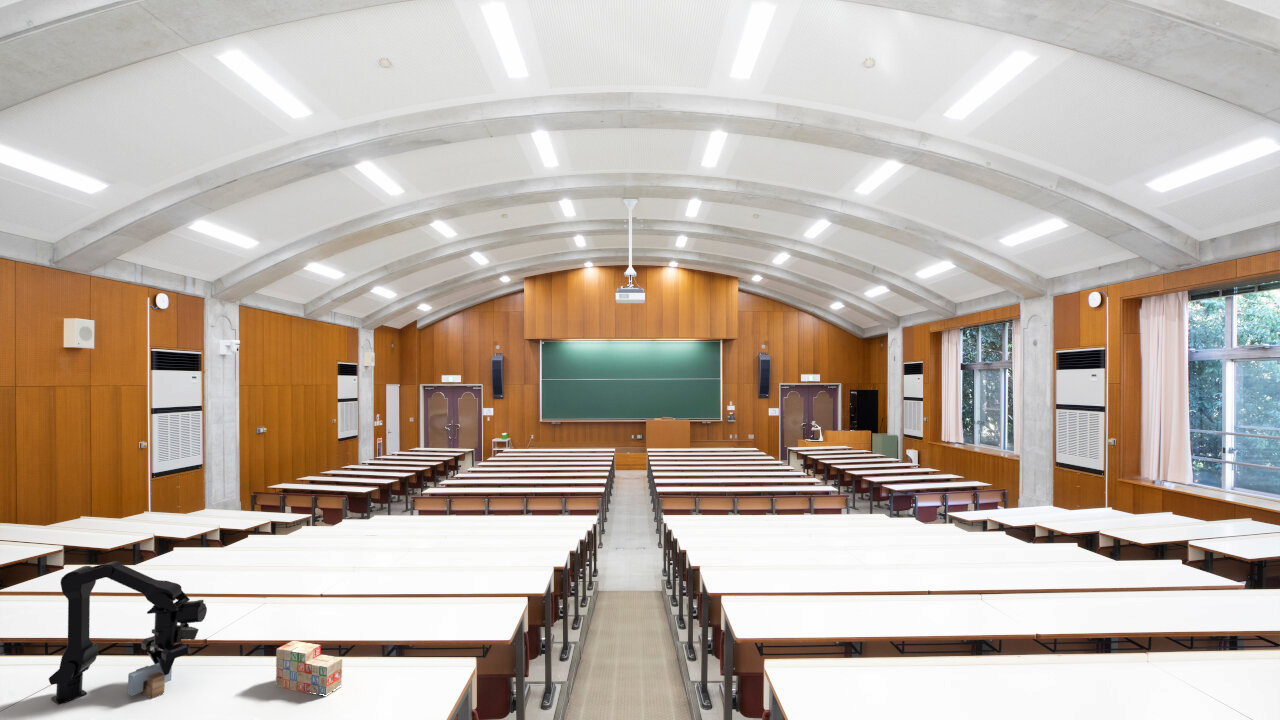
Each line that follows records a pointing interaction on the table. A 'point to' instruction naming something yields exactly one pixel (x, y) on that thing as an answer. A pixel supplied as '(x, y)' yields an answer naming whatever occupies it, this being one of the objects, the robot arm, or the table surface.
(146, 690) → the walnut notched block
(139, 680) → the slate notched plate
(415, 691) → the table surface
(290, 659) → the stack of blocks
